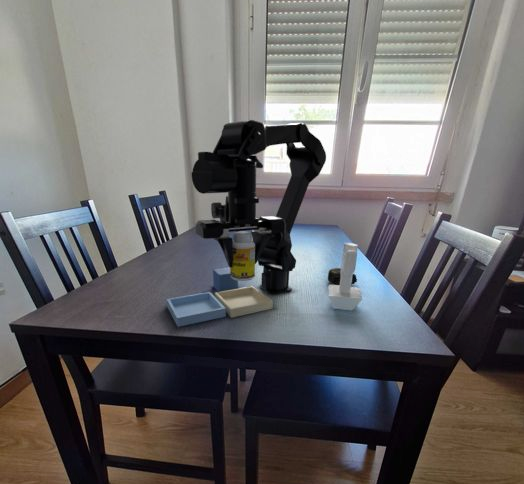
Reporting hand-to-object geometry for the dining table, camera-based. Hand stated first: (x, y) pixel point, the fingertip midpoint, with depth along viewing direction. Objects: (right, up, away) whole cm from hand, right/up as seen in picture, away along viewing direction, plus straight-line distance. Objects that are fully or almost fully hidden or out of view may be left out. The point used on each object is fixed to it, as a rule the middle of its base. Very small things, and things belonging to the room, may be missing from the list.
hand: (242, 265), depth 63 cm
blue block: (-5, -5, +12) cm, 14 cm away
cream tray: (0, -9, +3) cm, 10 cm away
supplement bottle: (0, -3, +1) cm, 3 cm away
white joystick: (+24, -10, +4) cm, 26 cm away
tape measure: (+27, -4, +17) cm, 32 cm away
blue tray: (-10, -10, -1) cm, 15 cm away
